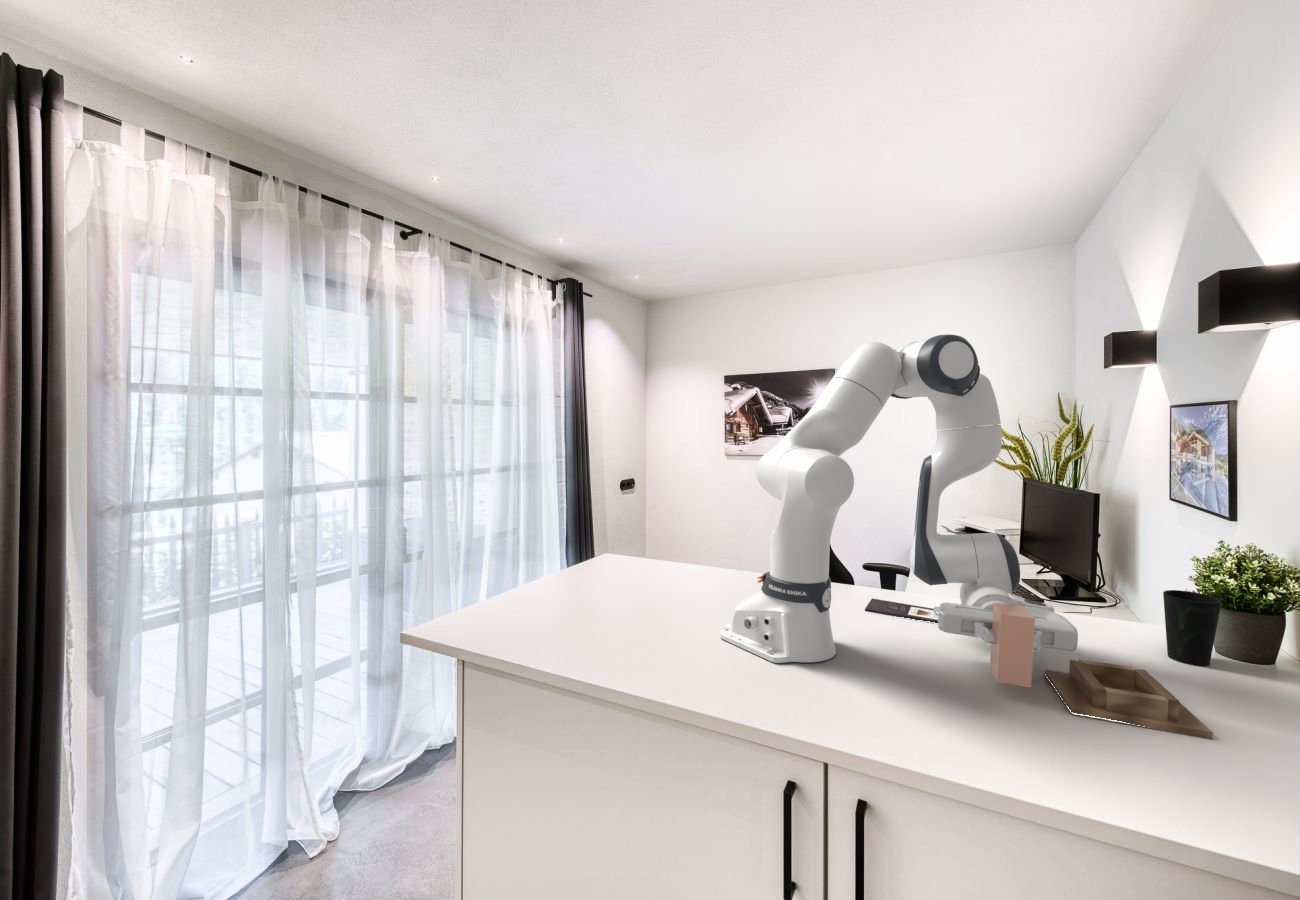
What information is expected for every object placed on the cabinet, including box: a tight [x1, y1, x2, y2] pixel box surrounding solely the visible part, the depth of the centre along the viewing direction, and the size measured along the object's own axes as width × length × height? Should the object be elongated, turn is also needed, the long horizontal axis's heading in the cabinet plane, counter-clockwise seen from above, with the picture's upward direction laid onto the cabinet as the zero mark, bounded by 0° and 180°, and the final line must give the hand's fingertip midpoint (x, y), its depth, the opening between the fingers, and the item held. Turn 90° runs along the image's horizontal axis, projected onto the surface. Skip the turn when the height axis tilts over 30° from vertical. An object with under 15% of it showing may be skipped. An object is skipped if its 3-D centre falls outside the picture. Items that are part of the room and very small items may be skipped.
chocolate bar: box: [864, 597, 938, 623], centre depth 125 cm, size 9×1×18 cm
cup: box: [1162, 589, 1223, 667], centre depth 100 cm, size 8×8×12 cm
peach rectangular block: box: [989, 603, 1035, 688], centre depth 88 cm, size 4×6×11 cm
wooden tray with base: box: [1044, 659, 1214, 740], centre depth 85 cm, size 16×14×4 cm
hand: (1013, 642), depth 87 cm, fingers closed on peach rectangular block, 4 cm apart
